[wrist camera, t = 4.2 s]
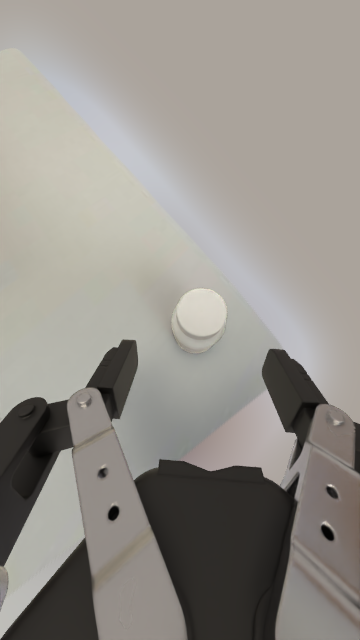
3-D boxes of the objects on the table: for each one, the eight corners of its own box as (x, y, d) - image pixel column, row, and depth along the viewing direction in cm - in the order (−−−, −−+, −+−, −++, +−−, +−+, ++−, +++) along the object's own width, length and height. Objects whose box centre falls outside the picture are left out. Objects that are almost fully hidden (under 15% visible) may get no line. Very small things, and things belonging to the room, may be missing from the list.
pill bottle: (198, 305, 21) (207, 269, 13) (224, 337, 20) (248, 317, 12) (166, 328, 20) (155, 304, 13) (190, 362, 19) (195, 358, 12)
